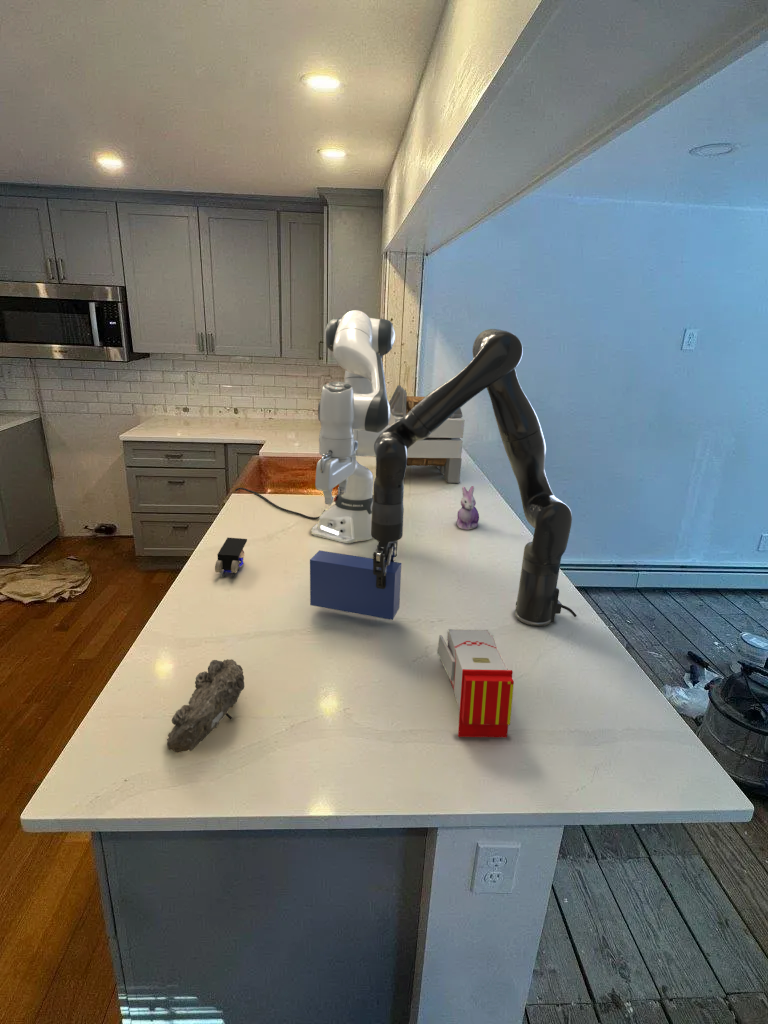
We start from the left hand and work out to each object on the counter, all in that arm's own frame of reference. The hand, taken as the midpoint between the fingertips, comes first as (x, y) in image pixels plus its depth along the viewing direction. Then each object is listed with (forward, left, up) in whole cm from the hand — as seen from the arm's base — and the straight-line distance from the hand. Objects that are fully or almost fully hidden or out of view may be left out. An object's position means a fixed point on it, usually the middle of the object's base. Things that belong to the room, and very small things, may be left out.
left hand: (335, 498), depth 150 cm
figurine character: (-32, +1, -27) cm, 42 cm away
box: (+10, -13, -24) cm, 29 cm away
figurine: (+28, +64, -27) cm, 75 cm away
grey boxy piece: (-4, +127, -27) cm, 130 cm away
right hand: (+18, -13, -15) cm, 27 cm away
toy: (+43, -33, -27) cm, 60 cm away
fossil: (-3, -57, -27) cm, 63 cm away
